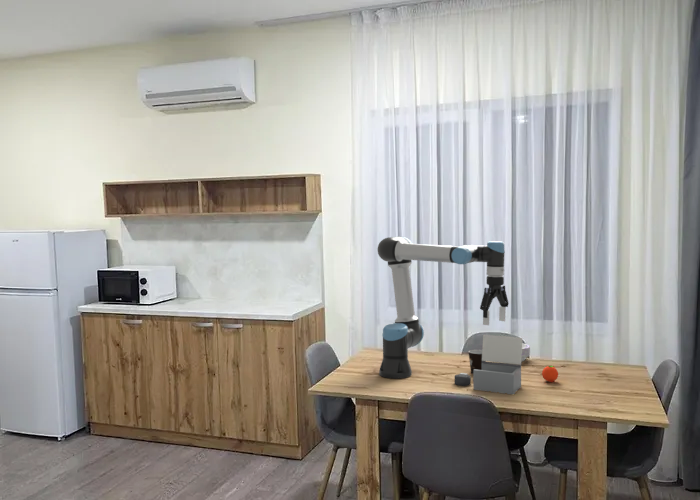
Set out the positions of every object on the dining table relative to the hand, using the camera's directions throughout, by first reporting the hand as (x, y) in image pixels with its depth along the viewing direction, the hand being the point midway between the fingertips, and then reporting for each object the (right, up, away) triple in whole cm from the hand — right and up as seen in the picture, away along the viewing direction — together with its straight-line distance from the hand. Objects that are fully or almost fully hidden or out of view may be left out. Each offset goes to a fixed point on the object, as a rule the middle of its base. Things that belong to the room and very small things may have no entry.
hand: (494, 323), depth 279 cm
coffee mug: (-4, -25, +17) cm, 31 cm away
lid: (+2, -11, -6) cm, 13 cm away
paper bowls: (+20, -24, +39) cm, 50 cm away
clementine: (+25, -26, -1) cm, 36 cm away
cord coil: (-15, -27, -4) cm, 31 cm away
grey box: (-2, -27, -11) cm, 29 cm away
